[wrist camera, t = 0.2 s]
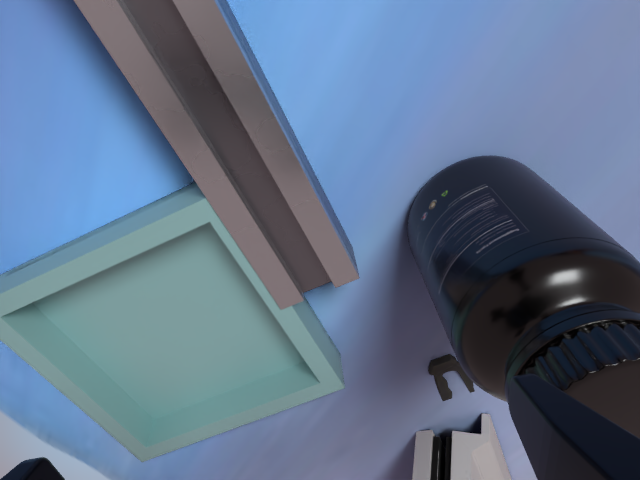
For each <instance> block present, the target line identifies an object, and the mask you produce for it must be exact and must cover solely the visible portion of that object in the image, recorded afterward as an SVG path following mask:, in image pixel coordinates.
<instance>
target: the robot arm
mask: <svg viewBox="0 0 640 480" xmlns="http://www.w3.org/2000/svg"><path fill="white" fill-rule="evenodd" d="M509 410H510V414H511V417H512V420H513V422H514V425H515V427H516V429H517V432H518V434H519V437H520V439H521V441H522V444H523V446H524V448H525V451H526V453H527V456H528V458H529V460H530V463H531V465H532V467H533V470H534V472H535V475H536V477H537V479H538V480H640V438H638V437H637V436H635V435H633V434H632V433H630V432H628V431H627V430H625V429H623V428H622V427H620V426H619V425H617V424H615V423H614V422H612V421H610V420H609V419H607V418H606V417H604V416H602V415H601V414H599V413H597V412H596V411H594V410H593V409H591V408H589V407H588V406H586V405H584V404H583V403H581V402H580V401H578V400H576V399H575V398H573V397H571V396H570V395H568V394H567V393H565V392H563V391H562V390H560V389H558V388H557V387H555V386H554V385H552V384H550V383H549V382H547V381H545V380H544V379H542V378H540V377H539V376H537V375H535V374H533V373H528V374H523V375H517V376H513V377H512V378H511V381H510V393H509ZM0 480H65V479H64V478H63V477H62V475H61V474H60V473H59V472H58V471H57V469H56V468H55V467H54V466H53V465H52V463H51V462H50V461H49V460H48V459H47V458H44V457H43V458H35V459H29V460H25V461H23V462H21V463H20V464H19V465H17V466H16V467H15V468H14V469H12V470H11V471H10V472H9V473H8V474H6V475H5V476H4V477H3V478H1V479H0Z"/></svg>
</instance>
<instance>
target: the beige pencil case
mask: <svg viewBox="0 0 640 480" xmlns="http://www.w3.org/2000/svg"><path fill="white" fill-rule="evenodd" d="M412 480H512V479H511V476H510V473H509V470H508V467H507V464H506V461H505V458H504V455H503V452H502V449H501V446H500V444H499V441H498V438H497V435H496V432H495V429H494V426H493V423H492V420H491V417H490V414H482V419H481V434H474V433H467V432H459V431H452V437H446V449H445V448H444V446H443V443H442V441H441V439H440V437H439V436H435V435H434V433H433V431H432V430H425V431H418V432H416V439H415V451H414V463H413V475H412Z"/></svg>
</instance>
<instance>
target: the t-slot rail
mask: <svg viewBox="0 0 640 480" xmlns="http://www.w3.org/2000/svg"><path fill="white" fill-rule="evenodd" d="M74 1H75V3H76V4H77V6H78V7H79V9H80V10H81V12H82V13H83V15H84V16H85V18H86V19H87V21H88V22H89V24H90V25H91V27H92V28H93V30H94V31H95V33H96V34H97V36H98V37H99V39H100V40H101V42H102V43H103V45H104V46H105V48H106V49H107V51H108V52H109V54H110V55H111V57H112V58H113V60H114V61H115V63H116V64H117V66H118V67H119V69H120V70H121V72H122V73H123V75H124V76H125V77H126V79H127V80H128V82H129V83H130V85H131V86H132V88H133V89H134V91H135V92H136V94H137V95H138V97H139V98H140V100H141V101H142V103H143V104H144V106H145V107H146V109H147V110H148V112H149V113H150V115H151V116H152V118H153V119H154V121H155V122H156V124H157V125H158V127H159V128H160V130H161V131H162V133H163V134H164V136H165V137H166V139H167V140H168V142H169V143H170V145H171V146H172V148H173V149H174V151H175V152H176V154H177V155H178V157H179V158H180V160H181V161H182V163H183V164H184V166H185V167H186V169H187V170H188V172H189V173H190V175H191V176H192V177H193V179H194V180H195V182H196V183H197V185H198V186H199V188H200V189H201V191H202V192H203V194H204V195H205V197H206V198H207V200H208V201H209V203H210V204H211V206H212V207H213V209H214V210H215V212H216V213H217V215H218V216H219V218H220V219H221V221H222V222H223V224H224V225H225V227H226V228H227V230H228V231H229V233H230V234H231V236H232V237H233V239H234V240H235V242H236V243H237V245H238V246H239V248H240V249H241V251H242V252H243V254H244V255H245V257H246V258H247V260H248V261H249V263H250V264H251V266H252V267H253V269H254V270H255V272H256V273H257V275H258V276H259V277H260V279H261V280H262V282H263V283H264V285H265V286H266V288H267V289H268V291H269V292H270V294H271V295H272V297H273V298H274V300H275V301H276V303H277V304H278V306H279V307H280V309H281V310H282V309H285V308H287V307H290V306H292V305H295V304H297V303H299V302H302V301H304V292H306V291H309V290H311V289H314V288H316V287H319V286H321V285H324V284H326V283H328V282H331V281H332V282H333V284H334V286H335V288H336V287H339V286H341V285H344V284H346V283H349V282H351V281H354V280H356V279H358V278H359V273H358V269H357V265H356V260H355V256H354V252H353V247H352V246H351V244H350V242H349V240H348V238H347V236H346V234H345V232H344V230H343V228H342V226H341V224H340V222H339V220H338V218H337V216H336V214H335V212H334V210H333V208H332V206H331V204H330V202H329V200H328V198H327V197H326V195H325V193H324V191H323V189H322V187H321V185H320V183H319V181H318V179H317V177H316V175H315V173H314V171H313V169H312V167H311V165H310V163H309V161H308V159H307V157H306V155H305V153H304V151H303V149H302V148H301V146H300V144H299V142H298V140H297V138H296V136H295V134H294V132H293V130H292V128H291V126H290V124H289V122H288V120H287V118H286V116H285V114H284V112H283V110H282V108H281V106H280V104H279V102H278V100H277V99H276V97H275V95H274V93H273V91H272V89H271V87H270V85H269V83H268V81H267V79H266V77H265V75H264V73H263V71H262V69H261V67H260V65H259V63H258V61H257V59H256V57H255V55H254V53H253V51H252V50H251V48H250V46H249V44H248V42H247V40H246V38H245V36H244V34H243V32H242V30H241V28H240V26H239V24H238V22H237V20H236V18H235V16H234V14H233V12H232V10H231V8H230V6H229V4H228V2H227V1H226V0H74Z"/></svg>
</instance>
